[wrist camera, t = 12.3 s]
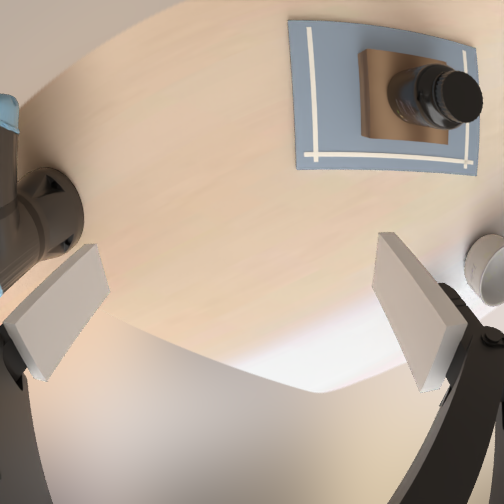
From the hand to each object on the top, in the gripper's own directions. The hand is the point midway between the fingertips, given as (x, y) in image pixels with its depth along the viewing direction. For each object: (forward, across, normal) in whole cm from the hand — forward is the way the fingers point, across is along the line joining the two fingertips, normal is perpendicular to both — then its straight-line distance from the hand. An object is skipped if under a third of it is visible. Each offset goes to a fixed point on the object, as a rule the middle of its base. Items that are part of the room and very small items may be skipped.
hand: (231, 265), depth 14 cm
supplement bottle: (+24, +19, +9) cm, 32 cm away
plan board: (+29, +19, +9) cm, 36 cm away
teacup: (+29, +39, -16) cm, 51 cm away
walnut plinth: (+28, +19, +9) cm, 35 cm away
